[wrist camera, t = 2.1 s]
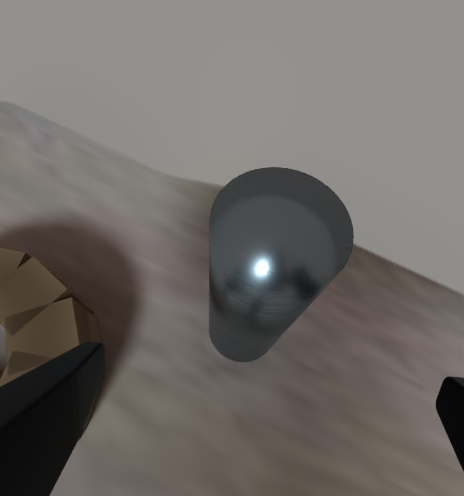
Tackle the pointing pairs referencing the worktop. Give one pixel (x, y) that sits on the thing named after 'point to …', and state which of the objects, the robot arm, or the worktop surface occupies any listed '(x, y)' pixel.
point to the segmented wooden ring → (39, 315)
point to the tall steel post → (271, 256)
